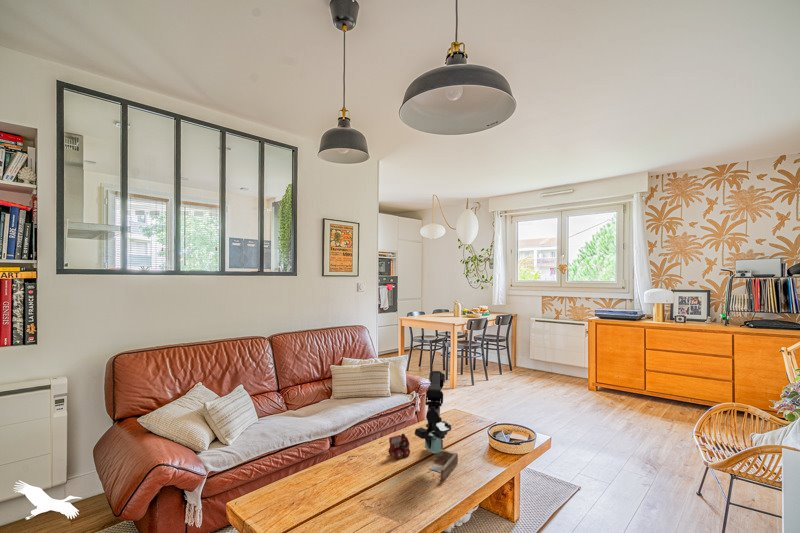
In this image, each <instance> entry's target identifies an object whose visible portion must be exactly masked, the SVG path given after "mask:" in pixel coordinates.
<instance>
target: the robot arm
mask: <svg viewBox="0 0 800 533" xmlns="http://www.w3.org/2000/svg"><path fill="white" fill-rule="evenodd" d="M428 375H429V377H428V381H429V383H430V385H428V387H427V390H425V406H427V411H426V414H425V419H426V420H427V424H425V427H426V428H424V427H418V428H415V430H414V435H415V436H416V437H417V438H420V440H425V441H426V443H427V446H428V448H429V449H430V448H431V438H432V437H433V436H431V434H433V435H435V436H437V437H439V438H441V449H442V450H443V447H444V440H443V439H445V438H446V437H445V436H447V435H448V432H450V431H452V425H451V423H450V422H448V421H445V420H443V419H442V417H441V407H442V405H443V404H444V393H443V391H442V389H443V387H444V384H445V383H446V375H445V373H443V372H442V371H440V370H432V371H431V372H429V374H428ZM425 441H424V442H425Z"/></svg>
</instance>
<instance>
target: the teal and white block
mask: <svg viewBox="0 0 800 533" xmlns="http://www.w3.org/2000/svg"><path fill="white" fill-rule="evenodd" d="M431 436H433V437H432V438H431V448H430V449H429V448H428V446H427V443H426V441H424V449H426V450H428V451H430V453H433V454H435V455H436V453H438V452H441V438H439V437H437V436H435V435H433V434H431Z"/></svg>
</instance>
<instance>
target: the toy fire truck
mask: <svg viewBox="0 0 800 533" xmlns="http://www.w3.org/2000/svg"><path fill="white" fill-rule="evenodd" d="M388 443H389V448H388V450H387V451H388V454H389V455H390V456H394V458H395V460H400V459H401V458H402V456H403V457H405V458H406V456H407V457H409V456H410V454H411V450H410V441H409V438H408V436H406V434H405V433H402V434H399V435H395V436H391V437H389V438H388Z"/></svg>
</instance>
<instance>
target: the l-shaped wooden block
mask: <svg viewBox="0 0 800 533" xmlns="http://www.w3.org/2000/svg"><path fill="white" fill-rule="evenodd" d="M435 460H437V461H440V462H444V463H445V464H444V465H443V466H439V465H436V464H432V465H431V466H430V467H429V468H428V470H430V471H433V472H436V473H439V474H440V481H442V482H445V481H446V479H447V478H448V476H450V474H451V473H452V472H453V471H454V469H455V468H456V466H457V465H458V462H459V454H458V452H455V451H449V450H446V449H443V448H442V449H441V452H438V453H435Z"/></svg>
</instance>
